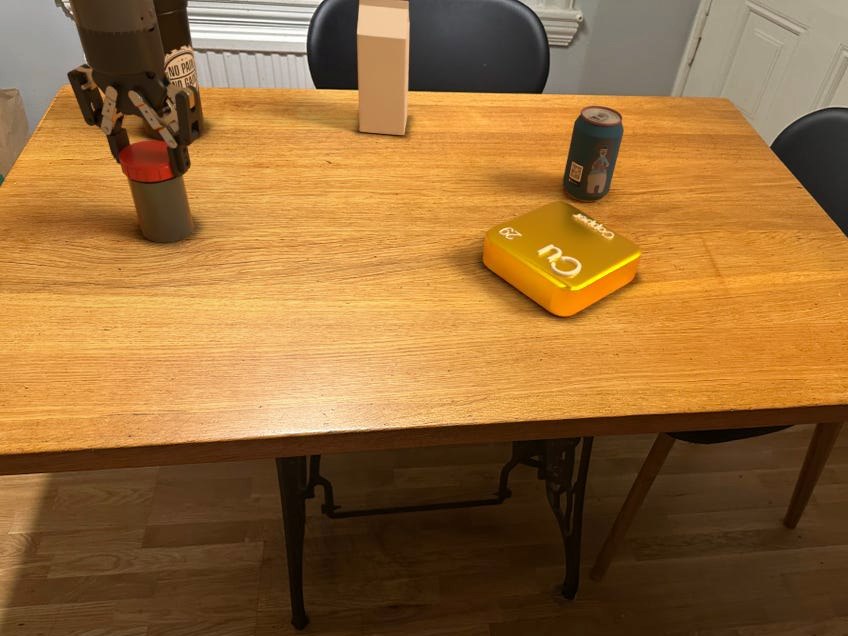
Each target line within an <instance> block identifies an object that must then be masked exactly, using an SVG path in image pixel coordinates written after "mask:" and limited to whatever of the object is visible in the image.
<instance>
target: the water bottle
mask: <svg viewBox="0 0 848 636" xmlns="http://www.w3.org/2000/svg"><path fill="white" fill-rule="evenodd" d="M188 2H189V0H153V3H154V8H155V13H156V18H157V22H158V27H159V31H160V36H161V41H162V46H163V50H164V55H165V64H164V70H165V73H166V75H167V77H168V79H169V80H170V82H171V84H173V85H176V86H180V87H183V88H186V87H187V86H189V85H192V86H194V87H195V88H196V89H197V91H198V101H199V111H200V121H201V131H202V133H203V132H204V131H205V129H206V127H205V126H206V125H205V120H204V113H203V105H202V101H201V94H200V87H199V86H200V85H199V79H198V73H197V65H196V59H195V52H194V46H193V40H192V35H191V27H190V20H189V14H188V8H187V7H188V5H189V3H188ZM168 99H169V101H170V102H171V104H173V101H172V99H171V98H170V97H169V98H168ZM175 110H176V108H175ZM176 111H177V110H176ZM157 115H158V117H159V118H161V117H163V116H164V112H163V110H161V112H159V113H158V114H157ZM141 122H142V125H143V128H144V132H145V134H146V135H147V136H148V137H150V138H151V139H153V140H154V139H155V140H156V141H165V140H164V139H163V137H162V136H161V134H160V133H159V132H158V131H156V130H154V129H153V128H152V127H151V125H150V124H149V122H148V121H147V120H146V119H143V118H141ZM168 126H169V124H168ZM169 128H170V129H171V127H170V126H169ZM171 131H172V132H173V130H172V129H171ZM173 134H174V132H173Z"/></svg>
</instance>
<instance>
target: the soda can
mask: <svg viewBox="0 0 848 636" xmlns="http://www.w3.org/2000/svg"><path fill="white" fill-rule="evenodd" d="M624 130H625V129H624V126H623V116H622V114H621V113H620V112H619V111H618V110H616V109H613V108H610V107H607V106H602V105H588V106H585V107H583V108H582V109H581V110H580V114H579V115H578V116H577V118H576V119H575V121H574V122H573V127H572V134H571V138H570V143H569V148H568V152H567V158H566V164H565V168H564V174H563V178H562V184H563V187H564V189H565V192H566V194H567V195H568V196H569V197H570V198H572V199H573V200H575V201H578V202H582V203H595V202H599V201H601V200H602V199H603V198H604V197H605V196H606V195H607V194H608V193H609V191H610V189H611V186H612V185H611V184H612V181H613V176H614V172H615V169H616V164H617V160H618V156H619V152H620V149H621V144H622V140H623V136H624V132H625V131H624Z"/></svg>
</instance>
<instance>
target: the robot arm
mask: <svg viewBox="0 0 848 636" xmlns="http://www.w3.org/2000/svg"><path fill="white" fill-rule="evenodd" d="M68 2H69V6H70V10H71V13H72V16H73V19H74V23H75V27H76V31H77V34H78V37H79V40H80V45H81V48H82V51H83V55H84V58H85V61H86V63H83V64H81V65H79V66H78V67H75V68H74V69H72V70H70V71H68V72H67V74H66V76H67V79H68V81H69V84H70V86H71V89H72V91H73V94H74V97H75V99H76V101H77V105H78V107H79V109H80V112H81V115H82V117H83V119H84V120H83V121H84V122H85V123H86V125H88V126H90V127H95V126H96V127H97V128H100V130H101V131H102V133H103V134H105V137H106V140H107V143H108V147H109V151H110V153H111V156H112V157H113V158H114V159H115V162H116V164H118V165H121V164H120V163H121V162H120V159H119V153H120V151H121V150H122V149H123V148H125V147H126V146H128V145H131V142H130V138H129V135H128V131H127V128H126V127H123V126H124V124H125V120H126V117H127V116H136V117H138V118H140V119H142V118H143V119H146V120H147V121H148V122H149V124H150V125H151V127H152V128H153V129H154V130H156V131H158V132H159V133H160V134H161V136H162V137H163V139H164V140H165V142H166V143H167V145H168V147H166V148H167V152H168V156H169V161H170V165H171V169H172V174H173V176H177V177H181V176H183V177H184V175H185V174H186V173H187V172H188V171H189V169H191V165H192V162H191V158H190V153H189V152H190V151H189V149H188V147H189V146H190V145H193V143H194V142H195V141H196V140H198V139H200V138H201V137H202V135H203V132H202V131H201V121H200V111H199V101H198V91H197V89H196V88H195V87H194V86H192V85H189V86H187V87H186V88H183V87H180V86H176V85H173V84H171V82H170V80H169V79H168V77H167V75H166V73H165V70H164V64H165V55H164V50H163V46H162V41H161V36H160V31H159V27H158V22H157V18H156V13H155V8H154V3H153V0H68ZM101 92H102V94H103V95H104V96H105V97H104V99H103V97H102V94H101ZM169 97H170V98H171V99H172V101H173V104H171V102H170V101H169V99H168V98H169ZM175 108H176V110H177V111H176V110H175ZM161 110H163V112H164V116H163V117H161V118H159V117H158V115H157V114H158V113H159V112H161ZM168 124H169V126H170V127H171V129H172V130H173V132H174V134H173V132H172V131H171V129H170V128H169V126H168Z"/></svg>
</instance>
